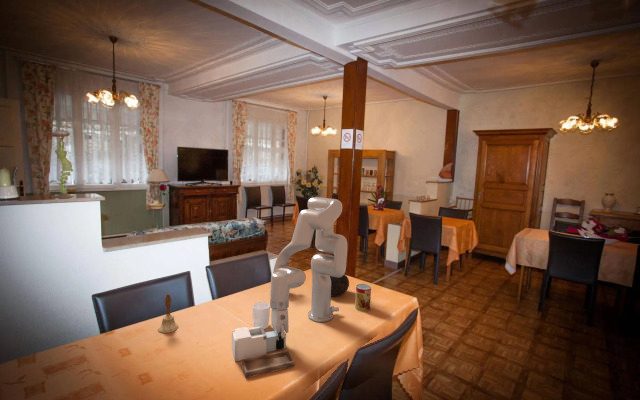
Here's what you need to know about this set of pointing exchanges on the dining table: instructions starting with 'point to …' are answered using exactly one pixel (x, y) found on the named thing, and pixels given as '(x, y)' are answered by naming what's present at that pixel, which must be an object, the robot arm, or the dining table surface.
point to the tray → (267, 363)
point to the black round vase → (339, 285)
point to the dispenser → (248, 342)
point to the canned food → (363, 297)
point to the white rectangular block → (271, 340)
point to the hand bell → (168, 318)
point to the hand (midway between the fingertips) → (278, 345)
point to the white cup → (261, 314)
